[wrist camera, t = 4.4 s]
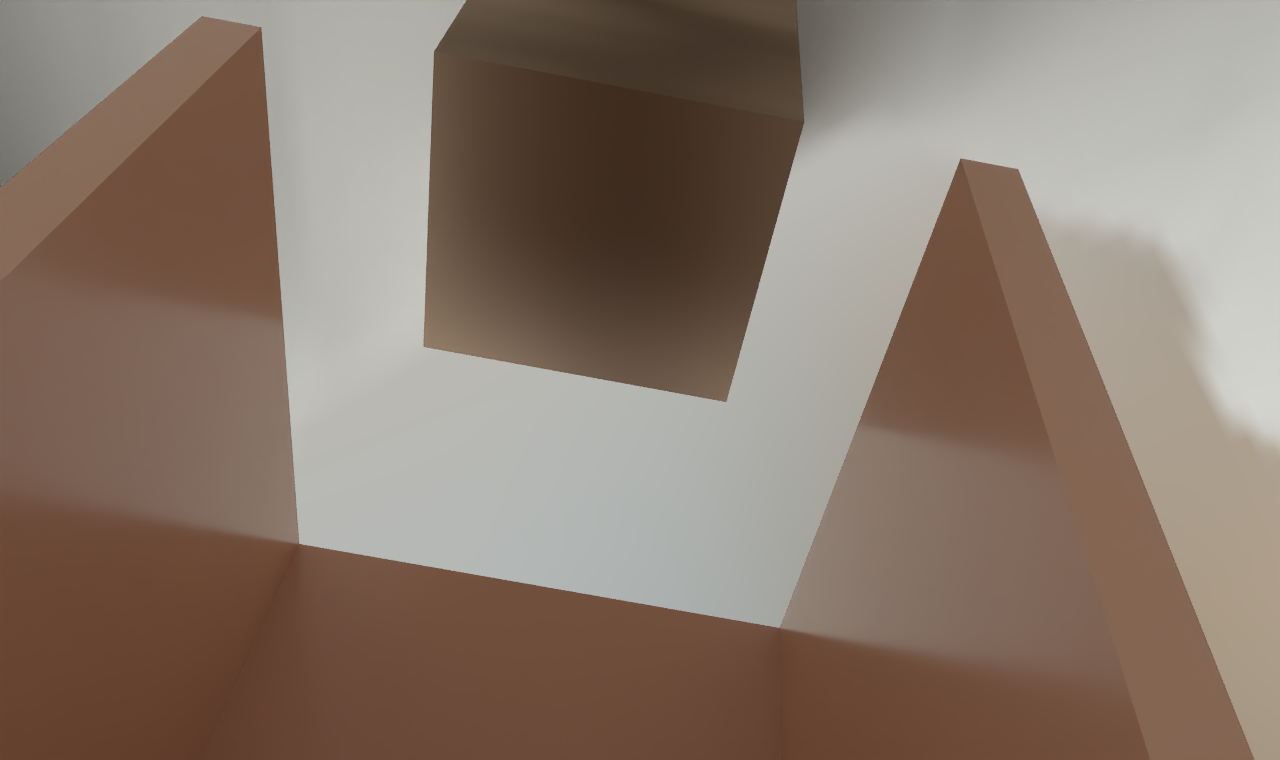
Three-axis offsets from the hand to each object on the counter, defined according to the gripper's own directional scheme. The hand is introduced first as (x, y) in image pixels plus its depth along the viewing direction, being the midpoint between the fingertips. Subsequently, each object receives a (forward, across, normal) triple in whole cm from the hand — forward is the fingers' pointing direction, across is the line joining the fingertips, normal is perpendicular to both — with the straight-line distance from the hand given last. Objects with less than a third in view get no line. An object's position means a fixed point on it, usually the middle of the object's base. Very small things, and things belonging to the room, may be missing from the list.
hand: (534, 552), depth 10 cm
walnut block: (+10, 0, 0) cm, 10 cm away
